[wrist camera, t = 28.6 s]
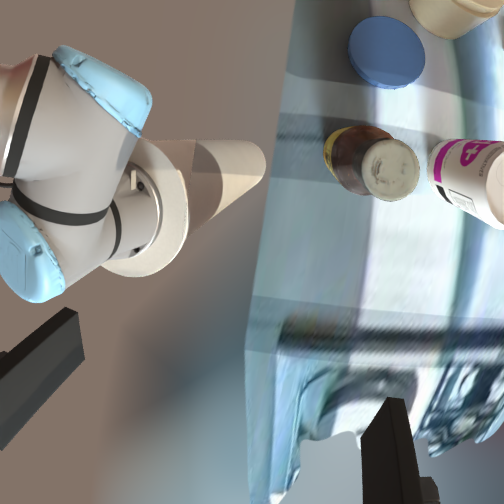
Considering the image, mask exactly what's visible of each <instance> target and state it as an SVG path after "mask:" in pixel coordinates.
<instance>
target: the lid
mask: <svg viewBox="0 0 504 504" xmlns="http://www.w3.org/2000/svg"><path fill="white" fill-rule="evenodd" d="M347 49H348V55H349V59H350V62H351V64H352V67H354V69H355V70H356V72H357V73H358V75H360V76H361V77H362V78H363V79H364V80H366V82H369V83H370V84H372V85H375V86H377V87H380V88H384V89H394V90H395V89H398V88H401V87H405V86H407V85H408V84H411V83H412V82H414V81H415V80H416V79H417V78H418V77H419V76H420V74H421V73H422V71H423V68H424V65H425V52H424V48H423V45H422V43H421V41H420V39H419V38H418V36H417V35H416V34H415V33H414V31H413V30H412V29H411V28H409V27H408V26H407V25H405V24H404V23H402V22H400V21H398V20H396V19H394V18H390V17H385V16H374V17H370V18H367V19H364V20H363V21H361V22H360V23H359V24H357V26H356V27H355V28H354V29H353V31H352V34H351V36H350V37H349V43H348V47H347Z"/></svg>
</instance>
